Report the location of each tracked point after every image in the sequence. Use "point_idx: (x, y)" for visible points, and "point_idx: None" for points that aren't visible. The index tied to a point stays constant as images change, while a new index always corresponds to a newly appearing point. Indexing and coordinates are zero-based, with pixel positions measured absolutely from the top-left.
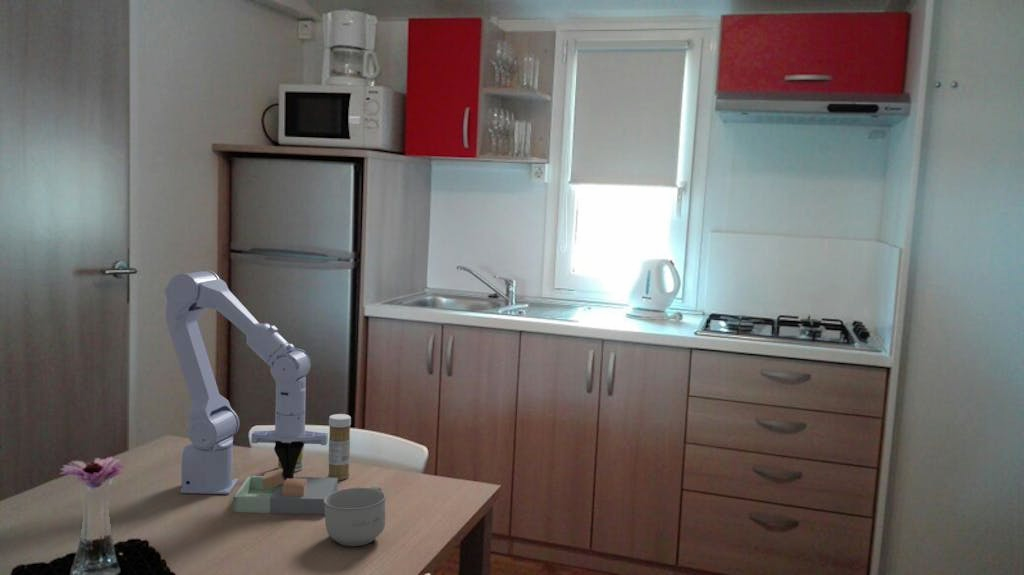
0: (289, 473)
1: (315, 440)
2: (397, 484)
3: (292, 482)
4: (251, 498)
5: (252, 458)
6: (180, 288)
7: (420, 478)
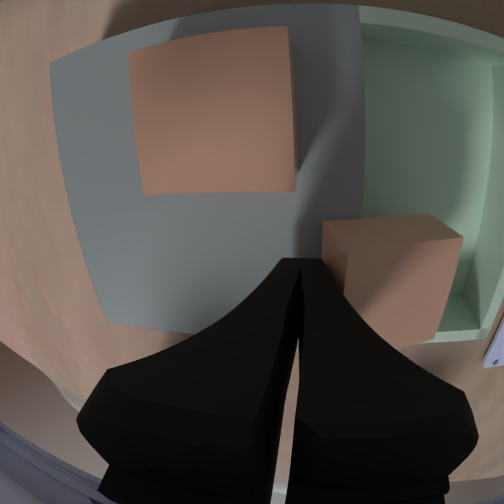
0: (288, 274)
1: (19, 464)
2: (40, 329)
3: (224, 103)
4: (460, 26)
5: None
6: None
7: (29, 352)
